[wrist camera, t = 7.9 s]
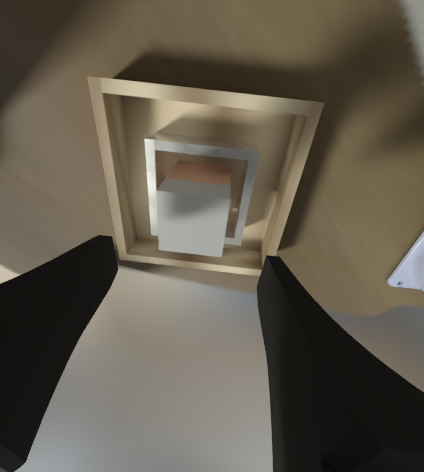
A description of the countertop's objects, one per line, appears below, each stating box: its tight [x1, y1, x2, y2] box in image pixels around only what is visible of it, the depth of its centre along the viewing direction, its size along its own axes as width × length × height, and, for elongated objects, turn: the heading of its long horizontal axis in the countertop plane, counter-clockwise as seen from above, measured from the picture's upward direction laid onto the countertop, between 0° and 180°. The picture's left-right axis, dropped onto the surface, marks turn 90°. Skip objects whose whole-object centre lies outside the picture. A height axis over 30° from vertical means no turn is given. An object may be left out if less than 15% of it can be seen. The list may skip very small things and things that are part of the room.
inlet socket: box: [145, 132, 260, 246], centre depth 17 cm, size 7×7×2 cm
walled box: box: [87, 76, 324, 276], centre depth 17 cm, size 13×13×3 cm
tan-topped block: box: [156, 161, 231, 257], centre depth 15 cm, size 4×4×6 cm
